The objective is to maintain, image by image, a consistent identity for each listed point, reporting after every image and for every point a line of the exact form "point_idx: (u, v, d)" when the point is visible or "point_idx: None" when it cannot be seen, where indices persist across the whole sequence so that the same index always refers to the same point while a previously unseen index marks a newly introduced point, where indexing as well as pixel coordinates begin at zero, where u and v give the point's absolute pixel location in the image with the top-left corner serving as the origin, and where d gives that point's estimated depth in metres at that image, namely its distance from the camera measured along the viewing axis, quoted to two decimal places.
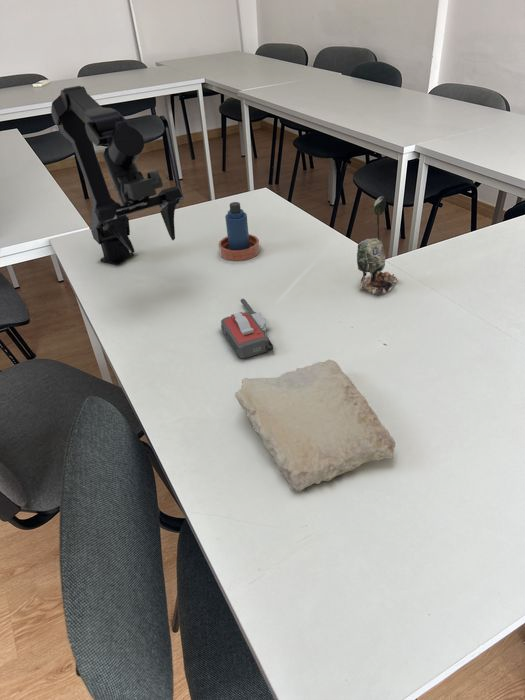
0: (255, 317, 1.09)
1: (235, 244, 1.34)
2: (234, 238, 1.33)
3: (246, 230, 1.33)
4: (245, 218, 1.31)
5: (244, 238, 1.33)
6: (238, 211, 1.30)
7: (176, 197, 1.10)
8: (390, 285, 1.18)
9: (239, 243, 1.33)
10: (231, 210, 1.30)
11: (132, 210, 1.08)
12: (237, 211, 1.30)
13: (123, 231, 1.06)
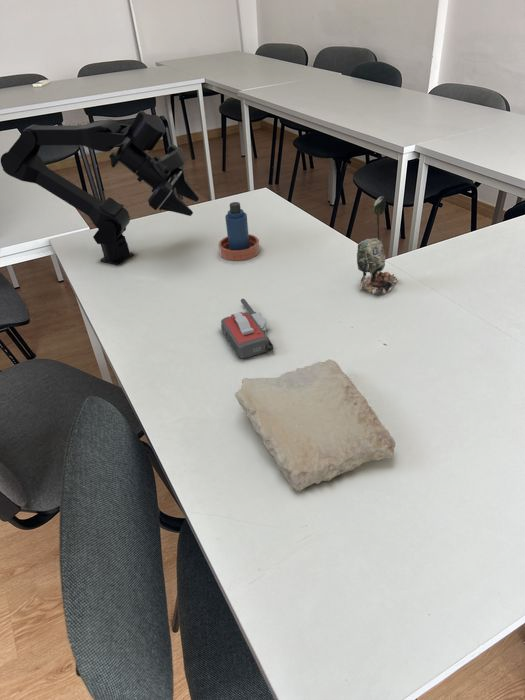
0: (255, 317, 1.09)
1: (235, 244, 1.34)
2: (234, 238, 1.33)
3: (246, 230, 1.33)
4: (245, 218, 1.31)
5: (244, 238, 1.33)
6: (238, 211, 1.30)
7: (182, 167, 1.32)
8: (390, 285, 1.18)
9: (239, 243, 1.33)
10: (231, 210, 1.30)
11: None
12: (237, 211, 1.30)
13: (179, 199, 1.24)
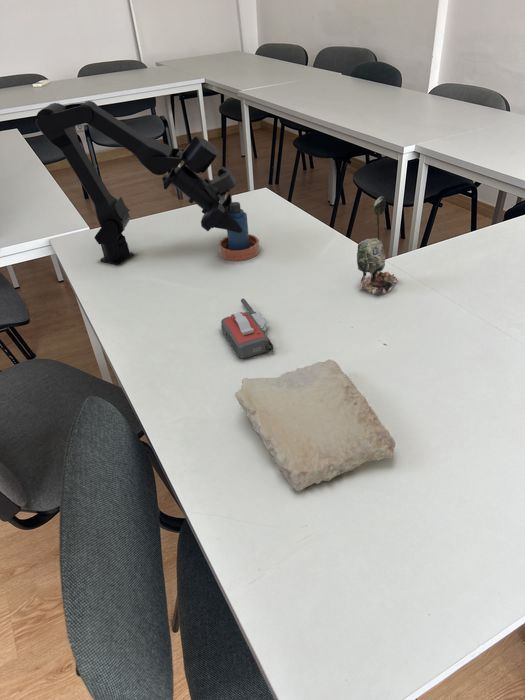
0: (255, 317, 1.09)
1: (235, 244, 1.34)
2: (234, 238, 1.33)
3: (246, 230, 1.33)
4: (245, 218, 1.31)
5: (244, 238, 1.33)
6: (238, 211, 1.30)
7: None
8: (390, 285, 1.18)
9: (239, 243, 1.33)
10: (231, 210, 1.30)
11: None
12: (237, 211, 1.30)
13: (231, 217, 1.29)
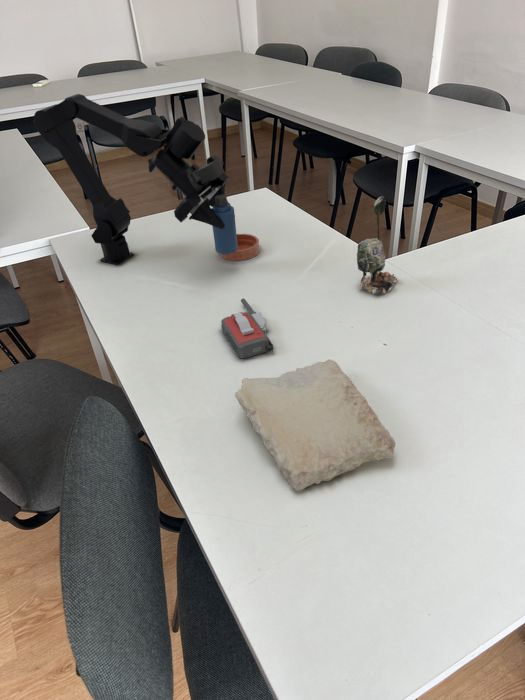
0: (255, 317, 1.09)
1: (218, 240, 1.23)
2: (217, 233, 1.22)
3: (231, 227, 1.21)
4: (230, 214, 1.19)
5: (228, 235, 1.22)
6: (223, 205, 1.19)
7: (226, 178, 1.24)
8: (390, 285, 1.18)
9: (222, 239, 1.22)
10: (216, 203, 1.19)
11: (201, 198, 1.19)
12: (222, 205, 1.19)
13: (211, 210, 1.17)
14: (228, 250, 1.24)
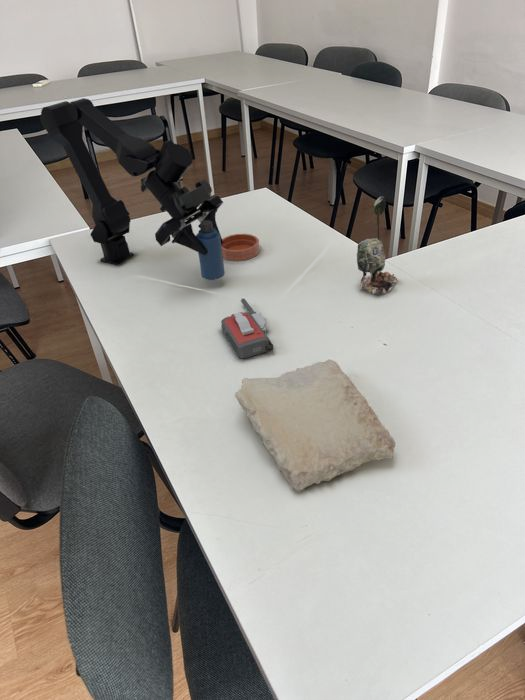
0: (255, 317, 1.09)
1: (202, 266, 1.20)
2: (201, 259, 1.19)
3: (215, 254, 1.18)
4: (213, 241, 1.16)
5: (211, 261, 1.19)
6: (207, 231, 1.16)
7: (219, 202, 1.21)
8: (390, 285, 1.18)
9: (206, 265, 1.19)
10: (201, 228, 1.16)
11: (187, 222, 1.17)
12: (206, 231, 1.16)
13: (194, 236, 1.15)
14: (212, 276, 1.21)
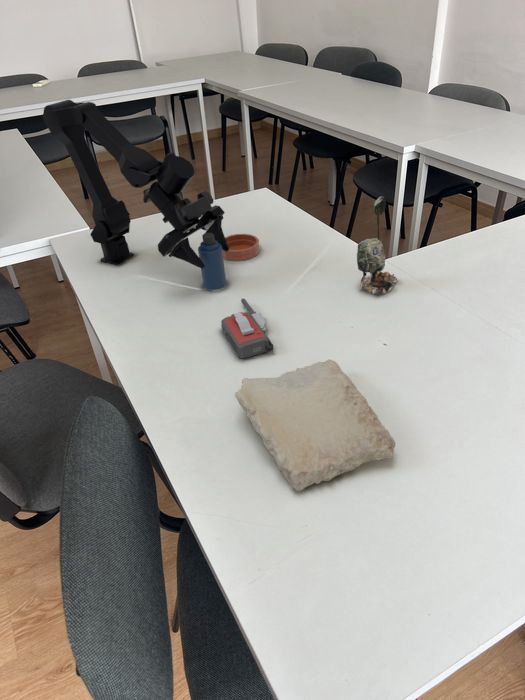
0: (255, 317, 1.09)
1: (204, 277, 1.22)
2: (203, 270, 1.21)
3: (217, 266, 1.20)
4: (215, 253, 1.18)
5: (213, 273, 1.20)
6: (209, 244, 1.17)
7: (220, 213, 1.22)
8: (390, 285, 1.18)
9: (208, 277, 1.21)
10: (203, 241, 1.18)
11: (189, 232, 1.18)
12: (208, 243, 1.17)
13: (191, 250, 1.15)
14: (214, 288, 1.23)
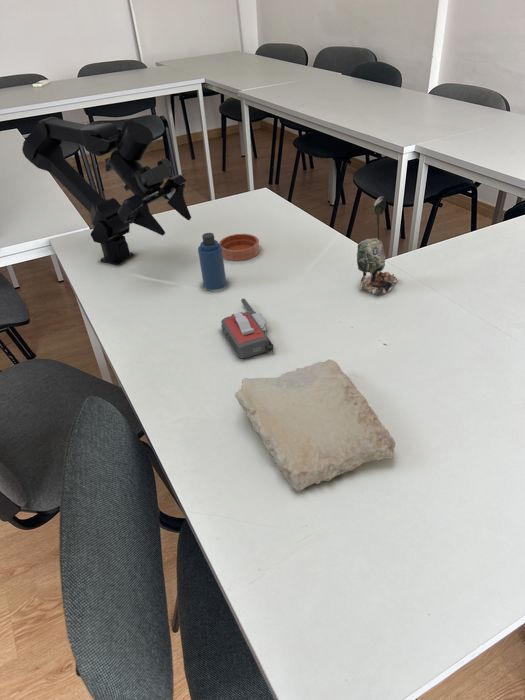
0: (255, 317, 1.09)
1: (204, 277, 1.22)
2: (203, 270, 1.21)
3: (217, 266, 1.20)
4: (215, 253, 1.18)
5: (213, 273, 1.20)
6: (209, 244, 1.17)
7: (182, 181, 1.23)
8: (390, 285, 1.18)
9: (208, 277, 1.21)
10: (203, 241, 1.18)
11: (150, 200, 1.19)
12: (208, 243, 1.17)
13: (151, 216, 1.17)
14: (214, 288, 1.23)
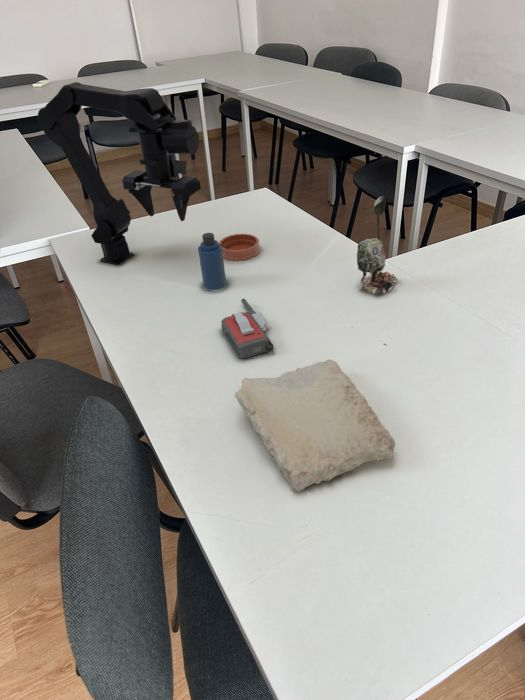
0: (255, 317, 1.09)
1: (204, 277, 1.22)
2: (203, 270, 1.21)
3: (217, 266, 1.20)
4: (215, 253, 1.18)
5: (213, 273, 1.20)
6: (209, 244, 1.17)
7: None
8: (390, 285, 1.18)
9: (208, 277, 1.21)
10: (203, 241, 1.18)
11: None
12: (208, 243, 1.17)
13: None
14: (214, 288, 1.23)
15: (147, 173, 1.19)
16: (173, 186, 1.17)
